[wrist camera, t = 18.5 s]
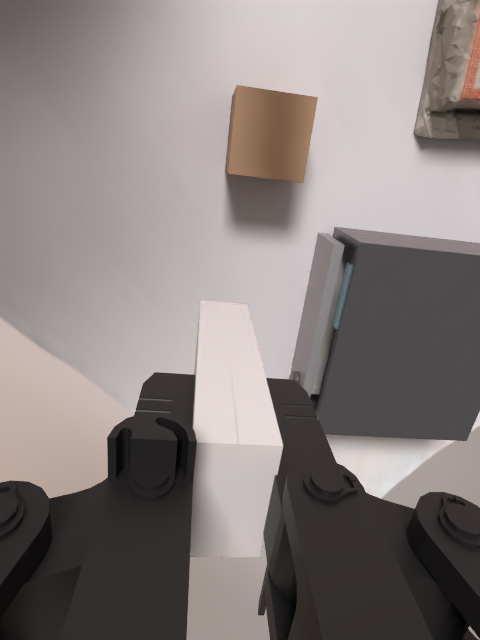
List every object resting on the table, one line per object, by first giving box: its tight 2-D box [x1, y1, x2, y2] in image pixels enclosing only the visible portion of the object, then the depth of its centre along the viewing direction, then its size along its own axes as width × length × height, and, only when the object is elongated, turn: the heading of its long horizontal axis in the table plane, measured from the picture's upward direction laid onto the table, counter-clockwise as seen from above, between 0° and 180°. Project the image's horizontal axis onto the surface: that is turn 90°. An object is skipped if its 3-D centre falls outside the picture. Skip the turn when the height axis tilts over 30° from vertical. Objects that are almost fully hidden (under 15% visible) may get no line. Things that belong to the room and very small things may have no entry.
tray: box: [289, 233, 353, 397], centre depth 34 cm, size 14×15×4 cm
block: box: [225, 85, 318, 183], centre depth 27 cm, size 5×5×5 cm
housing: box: [310, 227, 480, 441], centre depth 33 cm, size 14×16×6 cm
